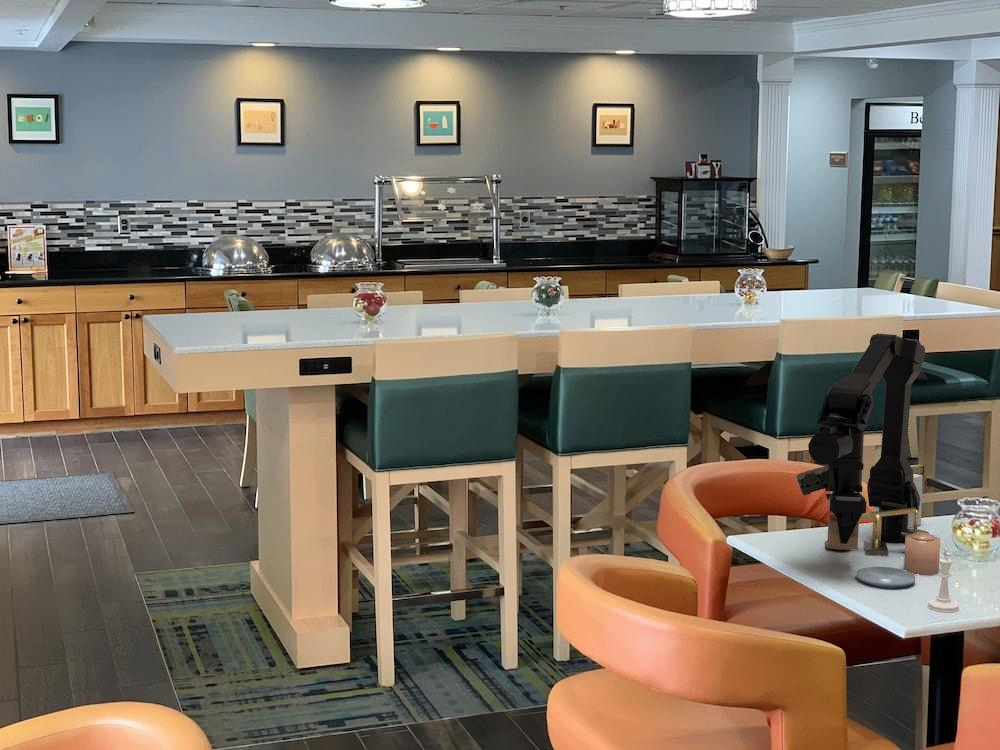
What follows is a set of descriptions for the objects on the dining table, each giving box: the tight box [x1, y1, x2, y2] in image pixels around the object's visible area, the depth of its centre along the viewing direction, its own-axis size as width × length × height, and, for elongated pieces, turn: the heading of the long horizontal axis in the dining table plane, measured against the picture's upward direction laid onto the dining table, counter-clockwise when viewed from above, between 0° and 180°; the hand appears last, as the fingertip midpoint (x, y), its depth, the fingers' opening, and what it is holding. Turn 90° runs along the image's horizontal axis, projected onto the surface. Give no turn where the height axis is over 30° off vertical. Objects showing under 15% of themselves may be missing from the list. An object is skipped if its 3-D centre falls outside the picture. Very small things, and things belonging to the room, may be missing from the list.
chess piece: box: [927, 548, 960, 613], centre depth 213 cm, size 5×5×10 cm
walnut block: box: [827, 513, 860, 551], centre depth 235 cm, size 5×5×5 cm
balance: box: [824, 507, 930, 557], centre depth 246 cm, size 6×19×9 cm, turn 79°
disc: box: [855, 566, 916, 589], centre depth 228 cm, size 10×10×1 cm
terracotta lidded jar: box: [903, 533, 941, 576], centre depth 234 cm, size 6×6×6 cm
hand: (842, 539), depth 235 cm, fingers closed on walnut block, 5 cm apart
